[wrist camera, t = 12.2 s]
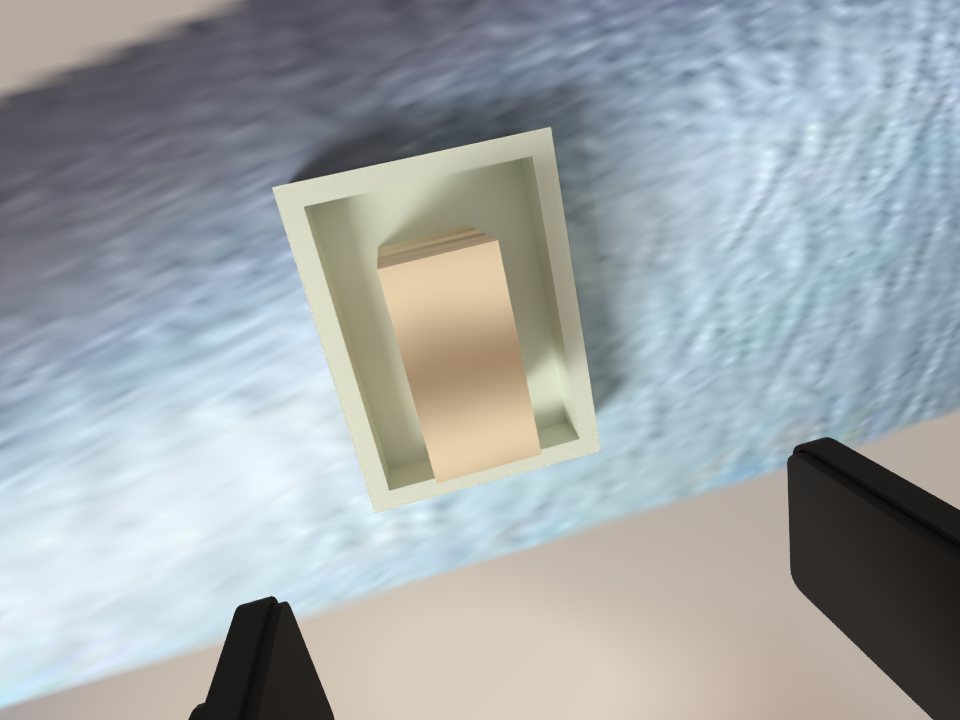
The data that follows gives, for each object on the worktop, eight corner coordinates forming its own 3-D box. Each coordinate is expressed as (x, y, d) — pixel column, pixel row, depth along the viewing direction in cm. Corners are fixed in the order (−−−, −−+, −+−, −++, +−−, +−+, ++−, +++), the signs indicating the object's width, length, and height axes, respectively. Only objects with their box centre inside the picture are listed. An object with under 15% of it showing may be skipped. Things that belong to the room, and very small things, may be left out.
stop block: (377, 247, 27) (376, 269, 20) (469, 225, 27) (498, 240, 21) (424, 416, 30) (436, 483, 23) (506, 394, 30) (541, 454, 24)
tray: (375, 483, 31) (374, 513, 29) (283, 186, 26) (271, 187, 23) (581, 427, 33) (600, 450, 30) (533, 132, 27) (550, 126, 24)
